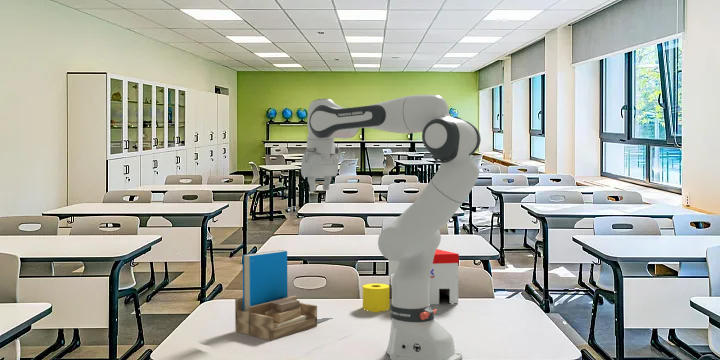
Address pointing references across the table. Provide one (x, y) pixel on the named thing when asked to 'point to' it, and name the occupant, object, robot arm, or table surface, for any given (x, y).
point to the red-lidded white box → (439, 276)
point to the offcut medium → (284, 315)
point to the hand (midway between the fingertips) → (319, 190)
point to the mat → (322, 320)
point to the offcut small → (284, 305)
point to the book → (264, 278)
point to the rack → (270, 320)
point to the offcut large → (290, 321)
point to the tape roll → (376, 297)
